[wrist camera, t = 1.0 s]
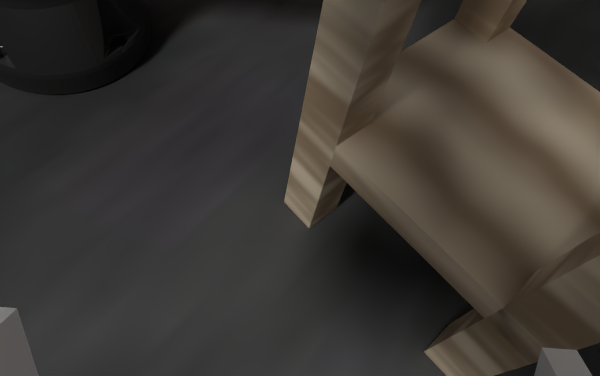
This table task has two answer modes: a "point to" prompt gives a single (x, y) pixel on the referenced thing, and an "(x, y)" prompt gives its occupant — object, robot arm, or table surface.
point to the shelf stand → (463, 169)
